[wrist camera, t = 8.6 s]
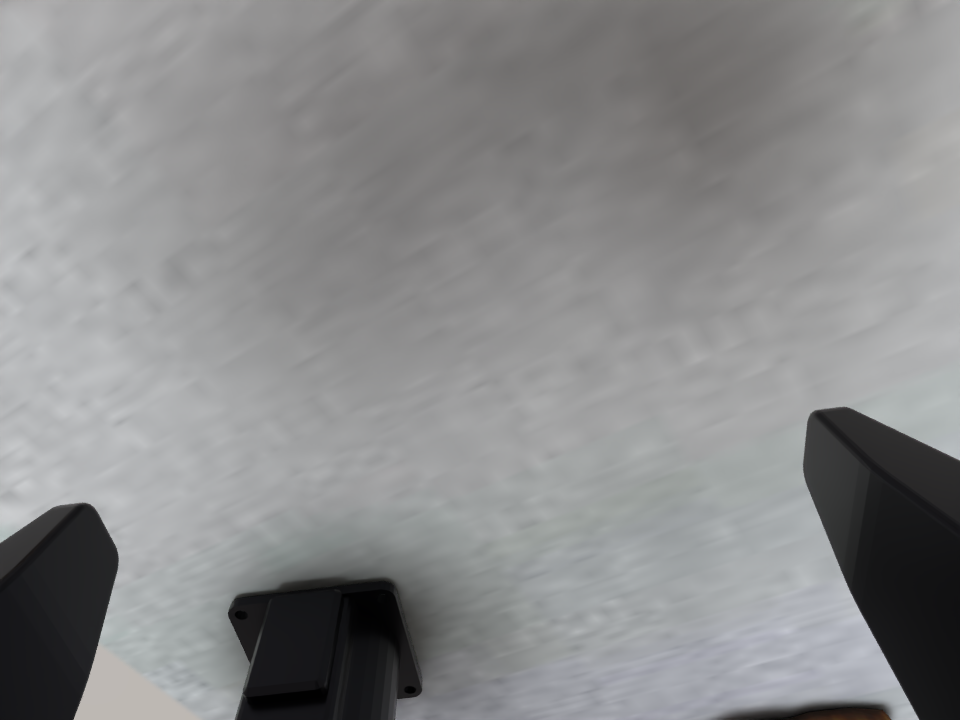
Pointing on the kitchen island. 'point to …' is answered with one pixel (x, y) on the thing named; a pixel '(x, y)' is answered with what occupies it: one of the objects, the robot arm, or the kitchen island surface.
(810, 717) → the croissant
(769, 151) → the kitchen island surface
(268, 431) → the kitchen island surface
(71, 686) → the robot arm
